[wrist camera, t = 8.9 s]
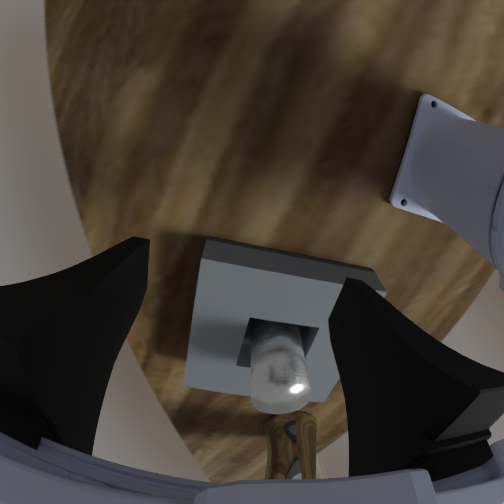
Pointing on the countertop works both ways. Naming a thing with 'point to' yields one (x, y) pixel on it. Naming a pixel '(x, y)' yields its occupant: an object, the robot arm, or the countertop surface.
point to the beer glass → (292, 447)
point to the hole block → (263, 312)
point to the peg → (277, 367)
